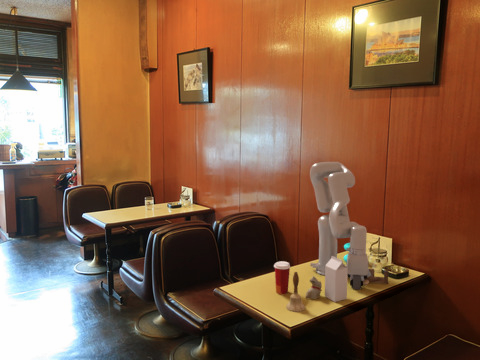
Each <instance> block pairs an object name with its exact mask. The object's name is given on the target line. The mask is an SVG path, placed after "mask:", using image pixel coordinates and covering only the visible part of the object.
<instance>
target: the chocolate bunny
mask: <svg viewBox="0 0 480 360" xmlns="http://www.w3.org/2000/svg"><path fill="white" fill-rule="evenodd" d="M309 282H310V283H311V286H310V288H309V289H307V290H306V293H305V299H307V300H315V299H319V298H320V297H321V292H322V290H323V289H322V288H323V287H322V281H321V280H318V279H317V277H315V276H313V275H312V277H311V279H310V280H309Z"/></svg>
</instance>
